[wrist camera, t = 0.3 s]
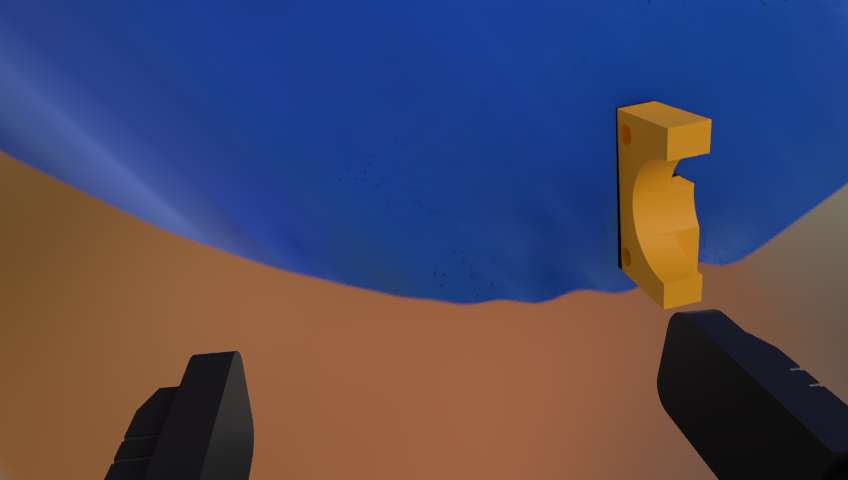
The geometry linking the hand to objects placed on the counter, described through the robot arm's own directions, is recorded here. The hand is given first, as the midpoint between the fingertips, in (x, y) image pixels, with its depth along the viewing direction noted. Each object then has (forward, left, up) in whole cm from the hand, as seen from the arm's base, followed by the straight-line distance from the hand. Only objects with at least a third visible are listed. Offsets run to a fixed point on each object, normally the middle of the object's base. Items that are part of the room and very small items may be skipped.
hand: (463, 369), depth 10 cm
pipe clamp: (+3, +20, -27) cm, 34 cm away
